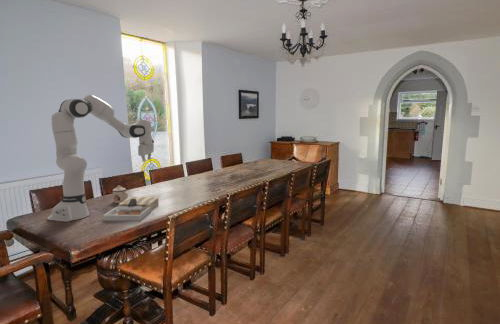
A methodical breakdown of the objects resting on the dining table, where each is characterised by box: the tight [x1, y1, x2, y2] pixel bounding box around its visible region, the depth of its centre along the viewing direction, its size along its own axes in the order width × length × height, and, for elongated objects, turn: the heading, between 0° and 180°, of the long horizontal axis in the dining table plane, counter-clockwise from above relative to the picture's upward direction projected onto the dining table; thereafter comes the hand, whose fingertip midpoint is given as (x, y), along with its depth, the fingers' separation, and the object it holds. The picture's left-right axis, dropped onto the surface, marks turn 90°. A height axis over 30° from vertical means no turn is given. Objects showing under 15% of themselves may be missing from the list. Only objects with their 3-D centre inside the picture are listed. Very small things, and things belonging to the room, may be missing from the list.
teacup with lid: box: [112, 185, 129, 204], centre depth 212 cm, size 12×9×12 cm
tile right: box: [130, 212, 141, 215], centre depth 183 cm, size 5×5×2 cm
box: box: [102, 206, 152, 222], centre depth 182 cm, size 22×17×4 cm
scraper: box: [115, 199, 143, 212], centre depth 186 cm, size 16×3×10 cm
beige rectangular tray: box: [118, 196, 160, 211], centre depth 199 cm, size 20×17×5 cm
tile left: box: [118, 212, 129, 215], centre depth 185 cm, size 5×5×2 cm
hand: (146, 160), depth 216 cm, fingers open, 8 cm apart
